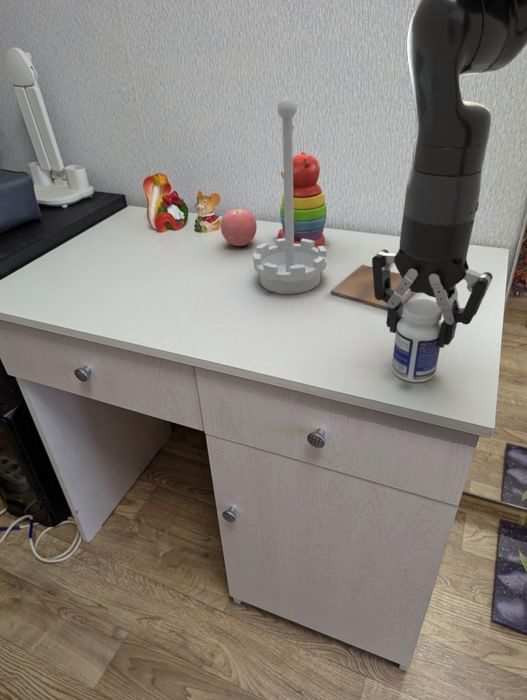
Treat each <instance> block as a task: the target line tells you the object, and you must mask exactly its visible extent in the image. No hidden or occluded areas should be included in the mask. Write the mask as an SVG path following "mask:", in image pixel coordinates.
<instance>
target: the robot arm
mask: <svg viewBox="0 0 527 700" xmlns="http://www.w3.org/2000/svg"><path fill="white" fill-rule="evenodd" d="M526 46H527V0H420V1H419V3H418V5H417V6H416V8H415V10H414V12H413V14H412V17H411V20H410V24H409V27H408V33H407V47H406V48H407V59H408V66H409V67H408V68H409V73H410V74H409V75H410V80H411V89H412V96H413V97H412V98H413V106H414V114H415V115H414V116H415V126H416V127H415V135H414V144H413V152H412V160H411V166H410V171H409V176H408V180H407V184H406V189H405V197H404V202H403V203H404V204H403V213H402V221H401V228H400V237H399V249H398V250H397V252H396V253H394V252H389V250H388V249H385V248H383V249H381V250H380V251H379V252H378V253H376V255H374V256H373V257H372V258H371V265H372V266H371V267H373V281H374V294H375V298H376V299H377V300H383V301H384V302H386V303H387V305H388V310H387V313H386V320H385V323H386V327H387V328H389V333H393V334H396V328H397V323H398V321H399V320H400V319H401V318H402V317H403V315H402V313H403V306H404V304H405V303H403V302H402V300H403V298H404V297H405V296H406V294H407V293H408V292H409V290H410V289H411V291H412V292H415V293H416V294H424V295H426V296H428V297H432V298H434V299H435V302H437V305H438V307H439V308H440V309H441V311H442V318H443V320H442V321H441V328H440V333H439V338H438V344H437V347H440V349H445V346H449V345H450V344H451V343H452V341H453V339H454V338H455V335H456V330H457V325H458V324H460V323H461V324H463V325H469V324H471V321H473V318H474V317H475V316H476V315H477V313H478V310H479V309H480V307H481V304H482V302H483V300H484V298H485V296H486V293H487V291H488V290H489V287H490V285H491V283H492V280H493V277H494V276H493V274H492V272H489V271H485V272H483V273H480V272H477V271H475V270H472V269H470V268H469V264H468V261H467V257H468V253H469V247H470V244H471V238H472V233H473V228H474V223H475V219H476V215H477V212H478V209H479V204H480V202H479V199H480V193H481V187H482V172H483V167H484V163H485V159H486V154H487V153H486V152H487V147H488V142H489V139H490V134H491V125H492V114H491V111H490V110H489V108H488V107H487V106H486V105H484V104H481V103H478V102H473V101H467V100H463V97H462V91H461V85H460V76H468V75H480V74H488V73H493V72H496V71H500V70H502V69H503V68H505V67H506V66H508V65H509V64H510V63H512V62H513V61H514V60H515V59H516V58H517V57H518V55H520V54H521V52H522V51H523V50H524V48H525V47H526ZM394 265H395V267H396V269H397V271H398V273H399V274H400V275H401V277H402V279H403V280H402V281H401V282H400V284H399V285H398V287H397V288H396V290H395V291H394V290H392V289H391V275H390V271H391V269H392V268H393V267H394ZM463 280H464V281H465V282H466V289H467V290H468V292H470V294H469V297H468V299H467V301H466V303H465V306H464V307H460V304H459V300H458V299H459V298H458V296H459V294H458V289H457V286H456V285H458V284H459V283H461V282H462V281H463Z"/></svg>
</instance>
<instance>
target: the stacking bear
mask: <svg viewBox="0 0 527 700" xmlns="http://www.w3.org/2000/svg"><path fill="white" fill-rule="evenodd" d="M320 171H321V169H320V163H319V161H318V159H317V158H315V156H313V155H310V154H307V153H306V152H304V151H301V152H300V154H296V155H293V218H294V244H301V240H302V239H309V240H312V241H314V247H316V248H318V246H324V245H325V243H326V239H325V235H324V229H325V225H326V222H327V212H328V211H327V204H326V199H325V198H326V197H325V193H324V191H323V190H322V188H321V186H320V185H319V184H318V180H319V177H320V174H321V173H320ZM280 175H281V178H282V180H283V181H284V171H283V169H282V170H281V172H280ZM279 209H280V210H279V214H280V216H279V217H280V224H281V229H279V230H278V232H277V239H282V238H285V214H284V192H283V194H282V197H281V204H280V208H279Z"/></svg>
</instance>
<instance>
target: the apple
mask: <svg viewBox="0 0 527 700" xmlns="http://www.w3.org/2000/svg"><path fill="white" fill-rule="evenodd" d="M219 225H220V232H221V235H222V237H223V238H224V240H225V241H226V242H227V243H228V244H229V245H231V246H235V247H243V246H246V245H249V243H250V242H251V241H253V239H254V238H255V236H256V234H257V228H258V227H257V220H256V218H255V216H254V215H253V213H252V212H250V211H249V210H246V209H242V208H235V209H230V210H228V211H227V212H225V213H224V214H223V215H222V217H221V219H220V224H219Z"/></svg>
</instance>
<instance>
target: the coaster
mask: <svg viewBox="0 0 527 700" xmlns="http://www.w3.org/2000/svg"><path fill="white" fill-rule="evenodd" d="M390 275H391V289H392V290H394V291H395V290H396V288H397V287H398V285H399V284H400V282H401V281H402V280H403V279H402V277H401V275H400V273H399V272H394V271H391V270H390ZM415 293H416V292H412V291H411V289H410V290H409V292H408V293H407V294H406V296H405V297H404V298H403V300H402V302H403V303H404V304H405V303H406V302H407V301H409V299H410V298H411V297H412V296H413V295H414V294H415ZM330 294H331V295H333V296H337V297H341V298H344V299H348V300H350V301H351V300H352V301H355V302H358V303H362V304H365V305H369V306H373V307H376V308H379V309H382V310H386V311H388V305H387V303H386V302H384V301H383V300H377V299H376V298H375V294H374V281H373V267H372V266H370V265H365V264H361V265H360V266H359V267H358V268H357V269H355V270H354V271H353V272H351V274H349V275H348V276H347V277H345V278H344V280H342V281H341V282H340V283H339V284H337V285H336V286H335V287H334V288H333V289H331V290H330Z"/></svg>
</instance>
